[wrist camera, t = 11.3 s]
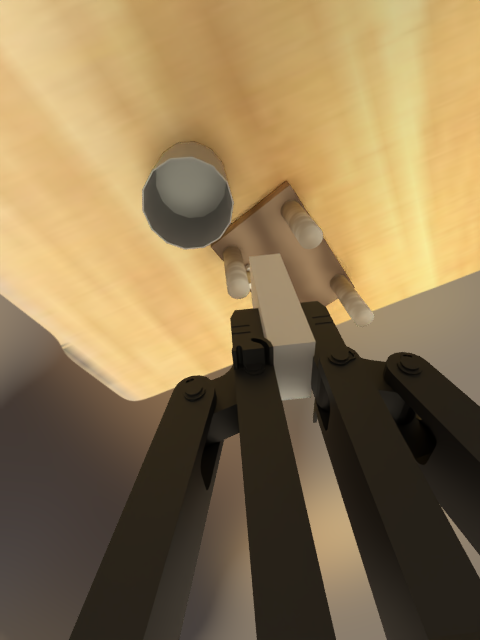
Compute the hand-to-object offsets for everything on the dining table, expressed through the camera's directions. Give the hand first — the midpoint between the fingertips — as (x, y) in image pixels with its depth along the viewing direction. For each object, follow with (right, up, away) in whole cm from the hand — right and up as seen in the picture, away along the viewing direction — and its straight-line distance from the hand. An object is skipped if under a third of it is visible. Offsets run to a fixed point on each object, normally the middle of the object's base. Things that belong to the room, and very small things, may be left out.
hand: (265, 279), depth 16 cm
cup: (-7, +14, +22) cm, 27 cm away
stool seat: (+5, +6, +29) cm, 30 cm away
